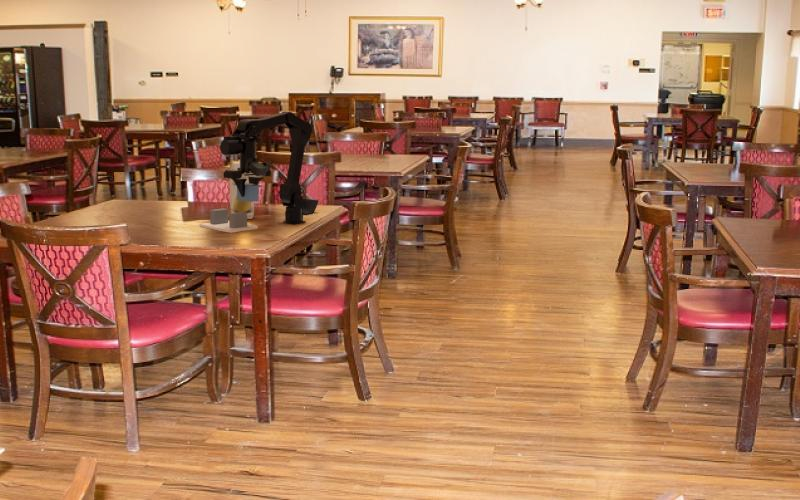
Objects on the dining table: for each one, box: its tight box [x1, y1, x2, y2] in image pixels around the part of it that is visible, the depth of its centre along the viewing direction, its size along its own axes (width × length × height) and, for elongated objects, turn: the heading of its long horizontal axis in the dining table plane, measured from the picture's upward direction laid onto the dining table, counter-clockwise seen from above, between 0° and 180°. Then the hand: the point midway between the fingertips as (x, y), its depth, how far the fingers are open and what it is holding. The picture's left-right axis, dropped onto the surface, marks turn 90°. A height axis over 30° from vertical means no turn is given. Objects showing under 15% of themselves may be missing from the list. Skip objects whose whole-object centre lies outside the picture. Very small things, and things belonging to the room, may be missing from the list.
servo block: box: [233, 183, 263, 203], centre depth 327 cm, size 4×11×6 cm, turn 51°
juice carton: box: [229, 160, 255, 220], centre depth 351 cm, size 9×8×24 cm
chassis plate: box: [199, 207, 259, 234], centre depth 330 cm, size 13×18×6 cm
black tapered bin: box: [303, 198, 319, 216], centre depth 369 cm, size 12×7×10 cm
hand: (247, 196), depth 327 cm, fingers closed on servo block, 4 cm apart
